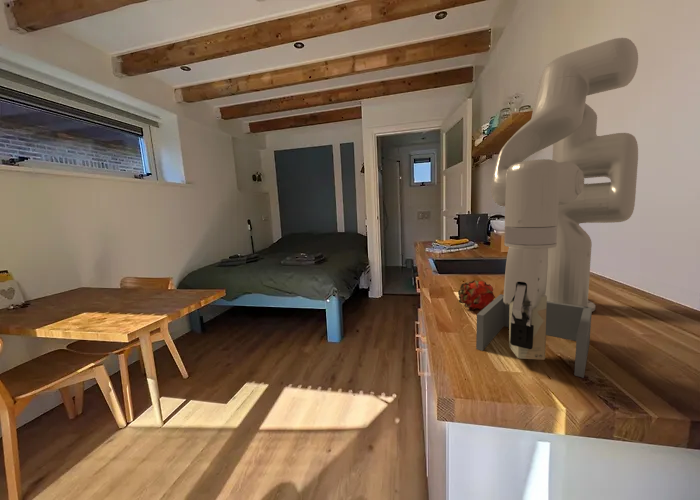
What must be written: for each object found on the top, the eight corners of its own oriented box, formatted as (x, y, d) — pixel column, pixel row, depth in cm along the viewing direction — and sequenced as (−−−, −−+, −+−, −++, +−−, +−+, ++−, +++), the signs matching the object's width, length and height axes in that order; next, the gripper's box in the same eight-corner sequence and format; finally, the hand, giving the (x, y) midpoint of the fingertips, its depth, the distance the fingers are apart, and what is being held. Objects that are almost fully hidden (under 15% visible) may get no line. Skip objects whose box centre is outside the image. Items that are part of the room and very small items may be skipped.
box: (545, 360, 49) (548, 296, 48) (517, 359, 50) (519, 295, 48) (533, 346, 54) (535, 287, 53) (507, 345, 55) (509, 287, 54)
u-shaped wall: (499, 323, 69) (500, 294, 68) (589, 341, 58) (591, 307, 57) (476, 349, 57) (476, 314, 56) (583, 377, 46) (586, 335, 45)
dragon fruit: (457, 318, 77) (486, 315, 84) (483, 306, 71) (511, 303, 77) (445, 288, 81) (473, 287, 88) (468, 274, 75) (496, 274, 81)
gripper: (517, 232, 58) (514, 319, 61) (489, 242, 45) (487, 352, 48) (563, 233, 53) (558, 327, 56) (548, 244, 40) (542, 366, 43)
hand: (526, 338), depth 52 cm, fingers closed on box, 6 cm apart
